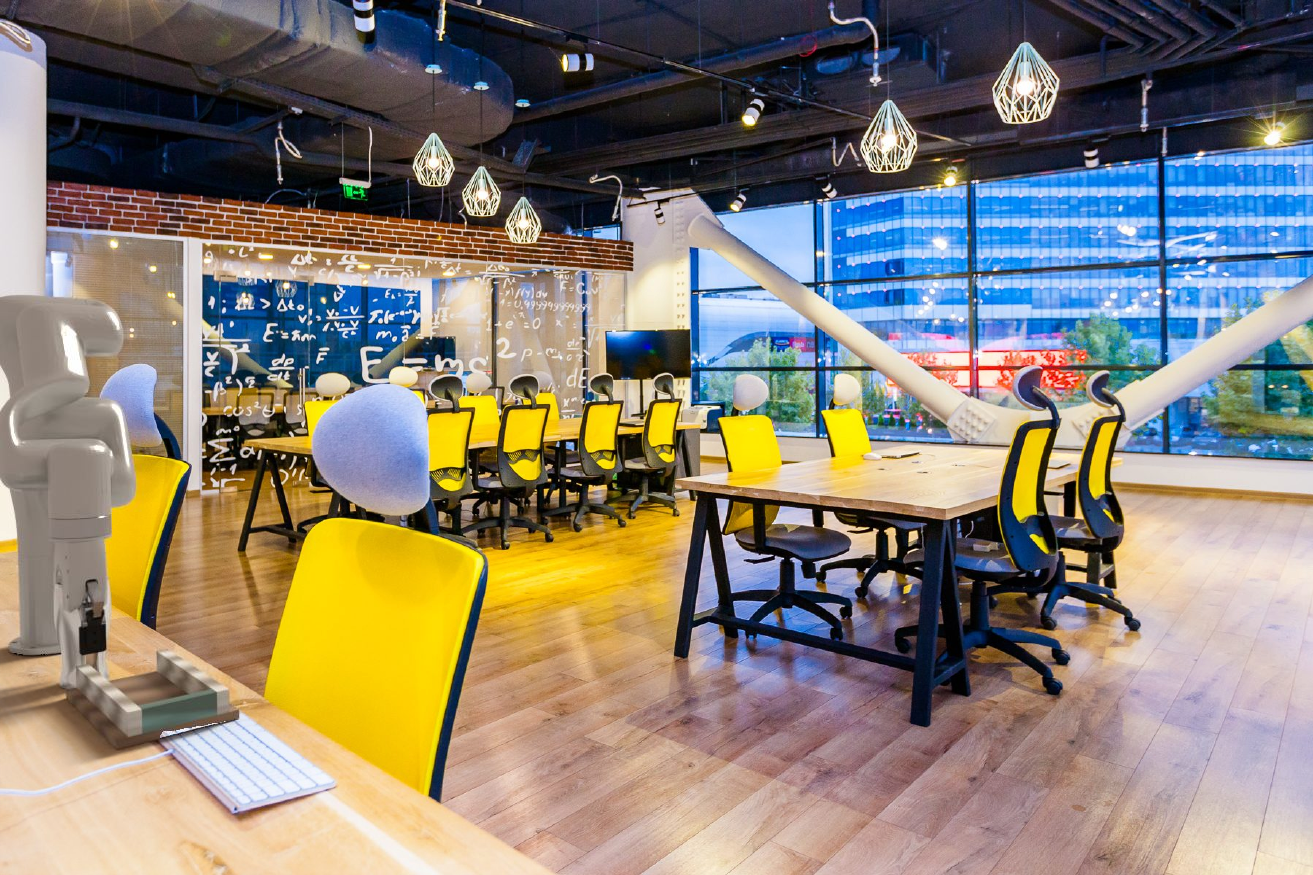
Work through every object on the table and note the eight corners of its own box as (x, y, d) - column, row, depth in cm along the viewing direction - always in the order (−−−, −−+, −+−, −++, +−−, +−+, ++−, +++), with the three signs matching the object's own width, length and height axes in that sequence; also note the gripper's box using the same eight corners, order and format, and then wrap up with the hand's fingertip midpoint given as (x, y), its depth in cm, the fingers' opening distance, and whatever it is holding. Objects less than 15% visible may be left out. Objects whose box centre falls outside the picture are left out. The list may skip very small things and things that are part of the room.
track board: (66, 698, 120) (65, 668, 119) (176, 674, 130) (176, 647, 130) (117, 749, 103) (116, 715, 103) (239, 718, 113) (238, 686, 113)
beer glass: (123, 678, 128) (121, 578, 127) (75, 693, 121) (72, 587, 121) (93, 671, 131) (91, 573, 130) (44, 685, 124) (41, 582, 124)
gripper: (35, 524, 128) (39, 638, 129) (65, 539, 116) (68, 664, 117) (94, 519, 133) (97, 629, 134) (128, 532, 122) (131, 653, 122)
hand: (83, 645), depth 126 cm, fingers open, 9 cm apart
